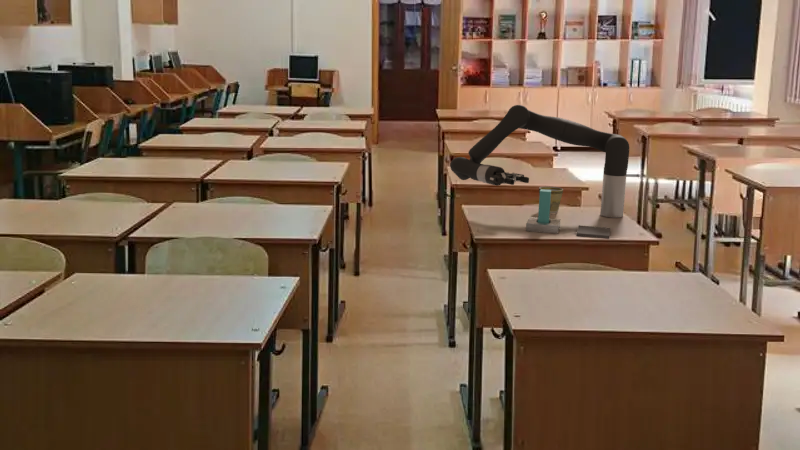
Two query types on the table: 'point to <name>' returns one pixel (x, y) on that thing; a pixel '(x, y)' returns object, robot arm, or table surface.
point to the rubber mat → (593, 231)
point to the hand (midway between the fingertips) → (521, 181)
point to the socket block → (543, 225)
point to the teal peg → (544, 206)
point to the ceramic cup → (554, 197)
